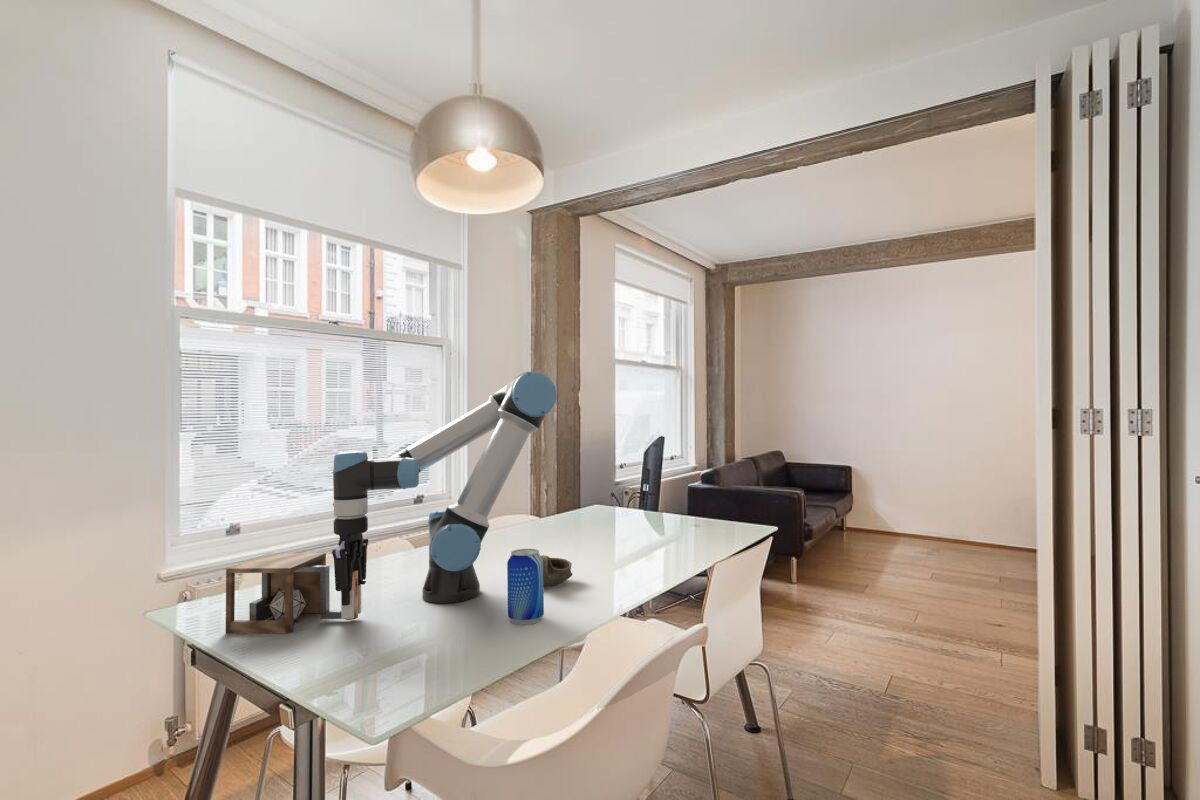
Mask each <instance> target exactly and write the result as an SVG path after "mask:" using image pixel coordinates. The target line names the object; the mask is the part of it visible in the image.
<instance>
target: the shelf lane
mask: <svg viewBox="0 0 1200 800" xmlns="http://www.w3.org/2000/svg"><path fill="white" fill-rule="evenodd" d="M326 560H327V553H326V552H308V553H307V552H305V553H304V552H300V553H299V552H294V553H292V552H291V553H288V552H287V553H286V552H284V553H282V552H281V553H280V552H279V553H278V552H277V553H276V552H275V553H274V552H271V553H266V554H262V555H261V556H258V557H255V558H252V559H249V560H246V561H243V562H241V563H239V564H236V565H233V566H230V567H227V568H225V569H226V570H225V634H291V633H293V632H294V620H293V589H299V586H302V588H301V589H300V591H301V593H302V596H303V598H304V600H305V603H306V604H307V603H309V604H310V605H306V606H305V607H304V609H303V610H302V612H301V613H300V614H312V613H314V614H315V613H316V614H320V572H293V571H295V570H298V569H300V568H302V567H304V566H318V565H327V561H326ZM262 573H271V593H272V592H275V591H278V590H277V589H278V588H280V590H285V620H275V619H270V620H269V619H267V620H249V619H248V620H247V619H244V620H242V619H241V620H237V619H236V620H235V610H236V609H235V606H236V605H235V604H236V603H235V601H236V600H235V595H236V594H235V591H236V588H235V587H236V585H235V584H236V579H235V578H236V574H262Z"/></svg>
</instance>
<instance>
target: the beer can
mask: <svg viewBox="0 0 1200 800" xmlns="http://www.w3.org/2000/svg"><path fill="white" fill-rule="evenodd" d="M541 556H542V555H540V550H539V549H536V548H519V549H515V550H512V551H511V552H510V556H509V559H507V562H506V565H507V567H506V569H507V578H506V579H507V617H508V618H509V619H510V621H511V623H512V624H514V625H518V626H528V625H533V624H537V623H539V622H540V621H541V620H542V618H543V616H544V615H545V613H544V611H545V610H544V609H545V608H544V607H545V605H544V600H545V599H544V594H545V593H544V586H543V559H542V558H541Z"/></svg>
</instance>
